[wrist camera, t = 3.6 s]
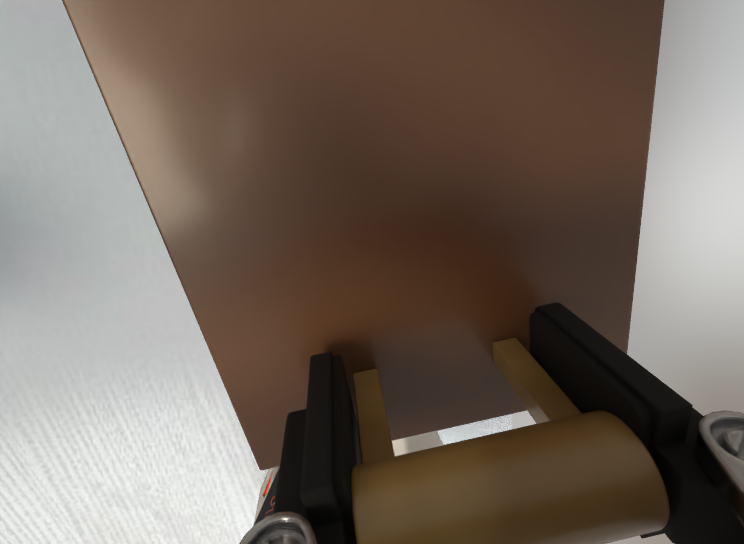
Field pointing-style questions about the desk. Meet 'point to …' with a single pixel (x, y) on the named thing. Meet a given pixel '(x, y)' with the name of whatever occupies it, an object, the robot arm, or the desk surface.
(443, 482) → the lid
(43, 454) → the desk surface
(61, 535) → the desk surface
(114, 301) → the desk surface
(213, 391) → the desk surface
